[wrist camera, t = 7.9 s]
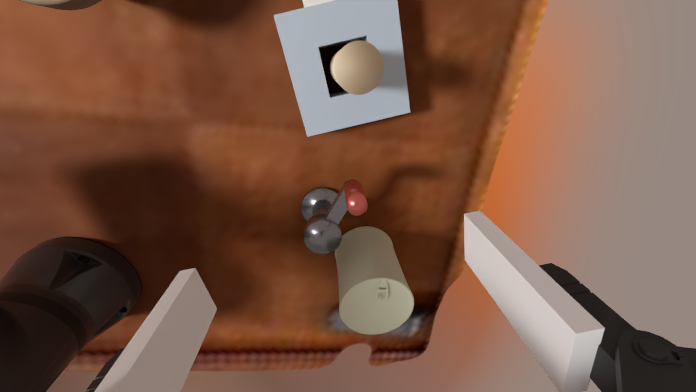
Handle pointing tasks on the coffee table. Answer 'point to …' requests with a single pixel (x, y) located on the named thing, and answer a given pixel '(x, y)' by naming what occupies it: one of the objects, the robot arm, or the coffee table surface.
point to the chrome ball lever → (334, 219)
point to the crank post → (317, 201)
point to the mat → (314, 2)
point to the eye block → (337, 28)
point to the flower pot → (63, 3)
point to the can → (371, 282)
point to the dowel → (357, 67)
